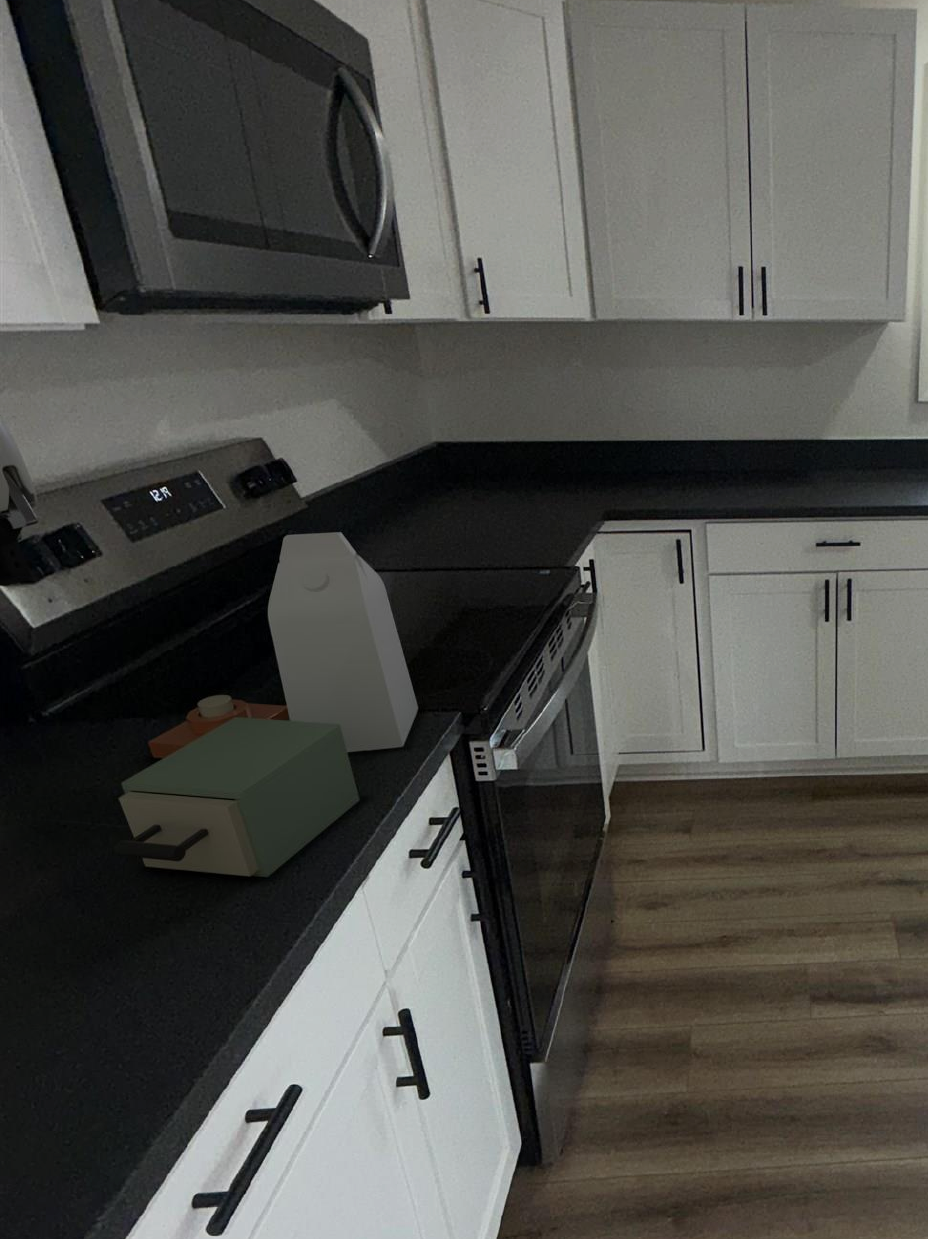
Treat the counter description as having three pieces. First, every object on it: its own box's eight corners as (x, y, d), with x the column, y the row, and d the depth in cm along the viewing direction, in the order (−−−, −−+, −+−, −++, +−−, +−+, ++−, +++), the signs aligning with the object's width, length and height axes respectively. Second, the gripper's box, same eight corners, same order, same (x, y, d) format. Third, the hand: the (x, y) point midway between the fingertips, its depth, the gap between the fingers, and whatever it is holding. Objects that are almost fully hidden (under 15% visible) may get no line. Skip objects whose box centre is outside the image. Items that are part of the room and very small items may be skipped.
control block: (226, 763, 107) (216, 734, 105) (153, 757, 108) (142, 728, 106) (293, 720, 118) (286, 693, 116) (226, 715, 119) (218, 688, 117)
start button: (220, 720, 109) (216, 707, 109) (194, 718, 110) (190, 705, 109) (241, 708, 113) (237, 695, 112) (216, 706, 113) (212, 693, 112)
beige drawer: (216, 904, 81) (190, 832, 77) (106, 893, 82) (76, 822, 79) (340, 803, 97) (323, 740, 93) (246, 796, 98) (226, 733, 95)
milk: (418, 708, 121) (377, 521, 110) (402, 746, 111) (356, 543, 100) (322, 718, 118) (271, 526, 107) (298, 757, 108) (238, 550, 97)
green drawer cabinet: (267, 877, 86) (239, 792, 82) (152, 866, 87) (120, 782, 83) (359, 800, 99) (340, 723, 95) (258, 792, 101) (235, 716, 97)
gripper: (-180, 395, 80) (-92, 589, 87) (-39, 397, 78) (39, 596, 85) (-91, 387, 86) (-16, 568, 94) (41, 389, 84) (107, 574, 92)
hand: (10, 581), depth 90 cm, fingers closed
